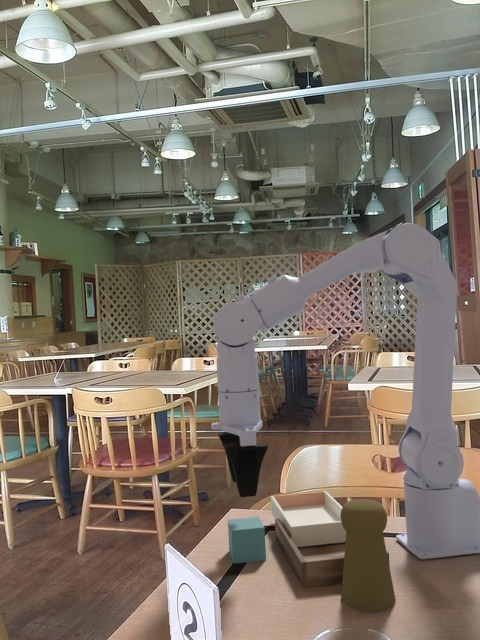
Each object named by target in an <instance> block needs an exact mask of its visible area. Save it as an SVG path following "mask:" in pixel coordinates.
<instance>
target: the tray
mask: <svg viewBox="0 0 480 640" xmlns="http://www.w3.org/2000/svg"><path fill="white" fill-rule="evenodd" d="M270 507H271V508H270V510H271V516H272V517H273V519H274V520H275V519H280V521H281V523H282V524H283V526H284V527H285V529H286V531H287V532H288V534H289V535H290V537H291V539H292V540H293V542H294V543H295V545H296V547H303V546H313V545H322V544H332V543H341V542H345V541H346V530H345V529H344V528H343V525H342V522H341V516H340V514H341V509H342V508H343V506H342V505H341V503H339V502H338V501H337V500H336V499H335V498H334V497H333V496H332V495H331V494H330V493H329V492H327V490H323V491H321V490H320V491H311V492H301V493H288V494H281V495H279V494H278V495H270Z"/></svg>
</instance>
